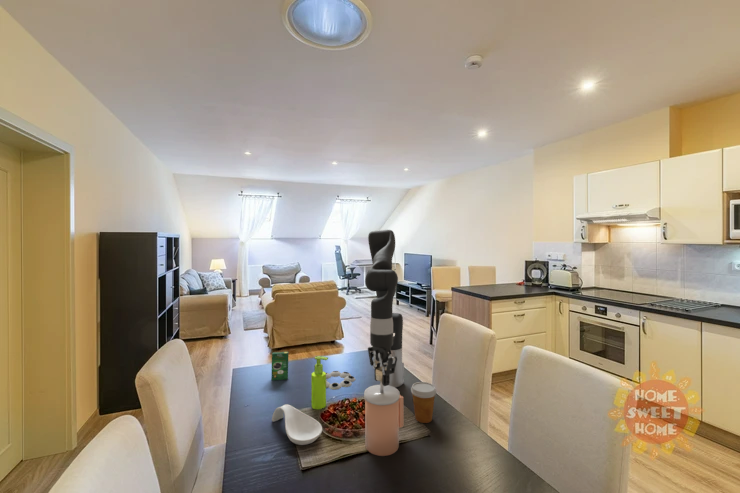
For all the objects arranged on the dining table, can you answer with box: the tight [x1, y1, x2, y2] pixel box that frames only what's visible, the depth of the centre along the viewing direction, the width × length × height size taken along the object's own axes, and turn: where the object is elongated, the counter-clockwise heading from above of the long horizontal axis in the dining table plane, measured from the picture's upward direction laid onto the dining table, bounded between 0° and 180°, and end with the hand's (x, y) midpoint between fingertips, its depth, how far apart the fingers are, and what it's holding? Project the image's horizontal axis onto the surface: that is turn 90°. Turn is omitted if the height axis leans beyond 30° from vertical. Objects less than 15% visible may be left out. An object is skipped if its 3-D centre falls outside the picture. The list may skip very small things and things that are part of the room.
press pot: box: [363, 384, 405, 457], centre depth 103 cm, size 14×12×17 cm
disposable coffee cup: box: [410, 381, 437, 424], centre depth 118 cm, size 10×10×12 cm
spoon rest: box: [271, 403, 323, 446], centre depth 110 cm, size 24×12×7 cm, turn 48°
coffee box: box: [271, 351, 289, 382], centre depth 153 cm, size 8×3×13 cm, turn 103°
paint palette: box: [325, 370, 356, 390], centre depth 151 cm, size 20×20×2 cm
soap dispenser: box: [310, 355, 329, 410], centre depth 128 cm, size 6×7×20 cm
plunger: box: [375, 367, 387, 393], centre depth 103 cm, size 4×4×7 cm
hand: (381, 382), depth 103 cm, fingers closed on plunger, 4 cm apart
